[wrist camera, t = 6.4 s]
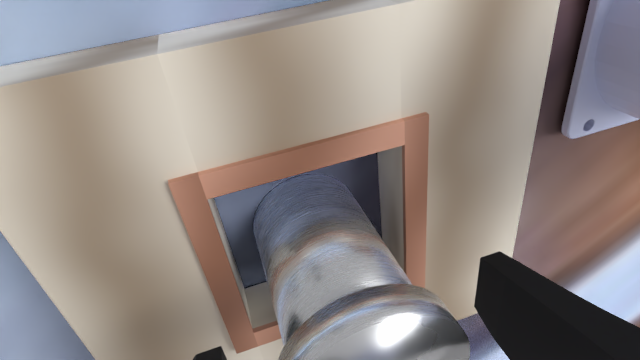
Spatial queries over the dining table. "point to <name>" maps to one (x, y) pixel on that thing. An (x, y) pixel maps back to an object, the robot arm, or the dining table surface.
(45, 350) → the dining table surface
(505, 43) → the hole plate
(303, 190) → the knob
